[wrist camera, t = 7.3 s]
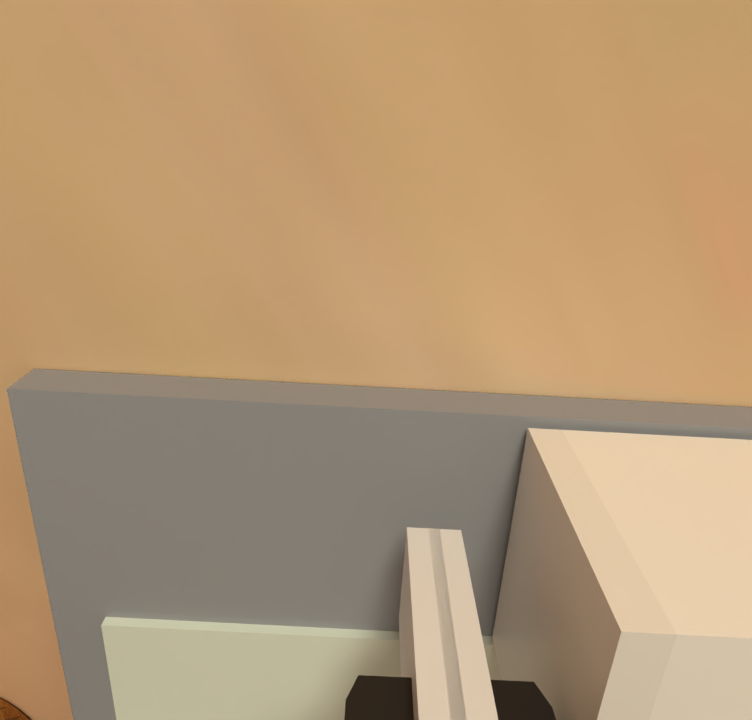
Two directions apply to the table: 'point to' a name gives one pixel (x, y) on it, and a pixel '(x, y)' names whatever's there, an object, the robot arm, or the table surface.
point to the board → (269, 526)
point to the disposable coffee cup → (10, 712)
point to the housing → (631, 576)
